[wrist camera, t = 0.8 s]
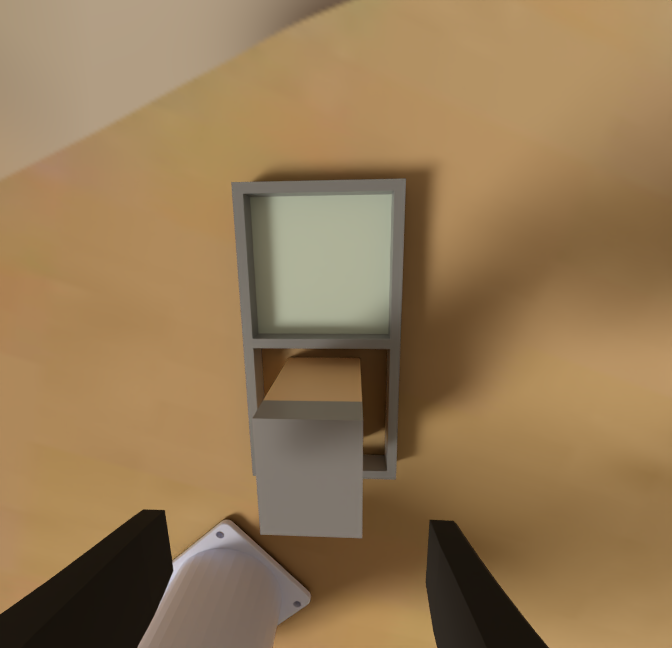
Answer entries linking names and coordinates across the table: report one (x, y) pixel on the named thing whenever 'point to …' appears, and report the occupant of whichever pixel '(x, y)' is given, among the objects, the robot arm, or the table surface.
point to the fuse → (311, 450)
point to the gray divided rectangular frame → (322, 279)
